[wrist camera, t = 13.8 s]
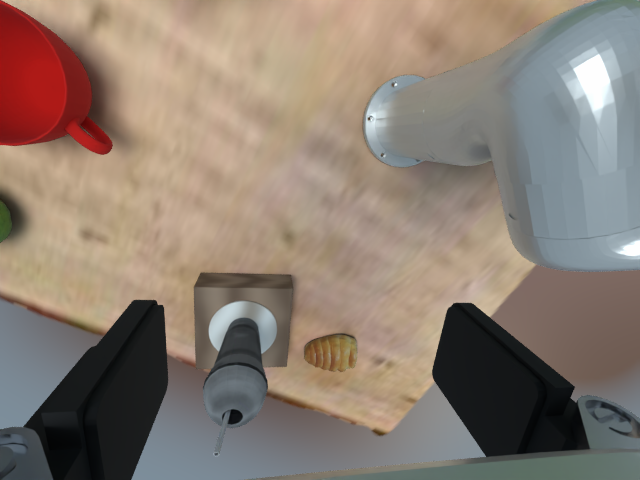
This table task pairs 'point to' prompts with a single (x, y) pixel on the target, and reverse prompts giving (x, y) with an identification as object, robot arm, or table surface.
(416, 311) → the table surface
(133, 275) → the table surface
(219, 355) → the beverage cup
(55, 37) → the ceramic cup
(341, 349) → the pastry
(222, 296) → the walnut stand
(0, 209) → the fruit
